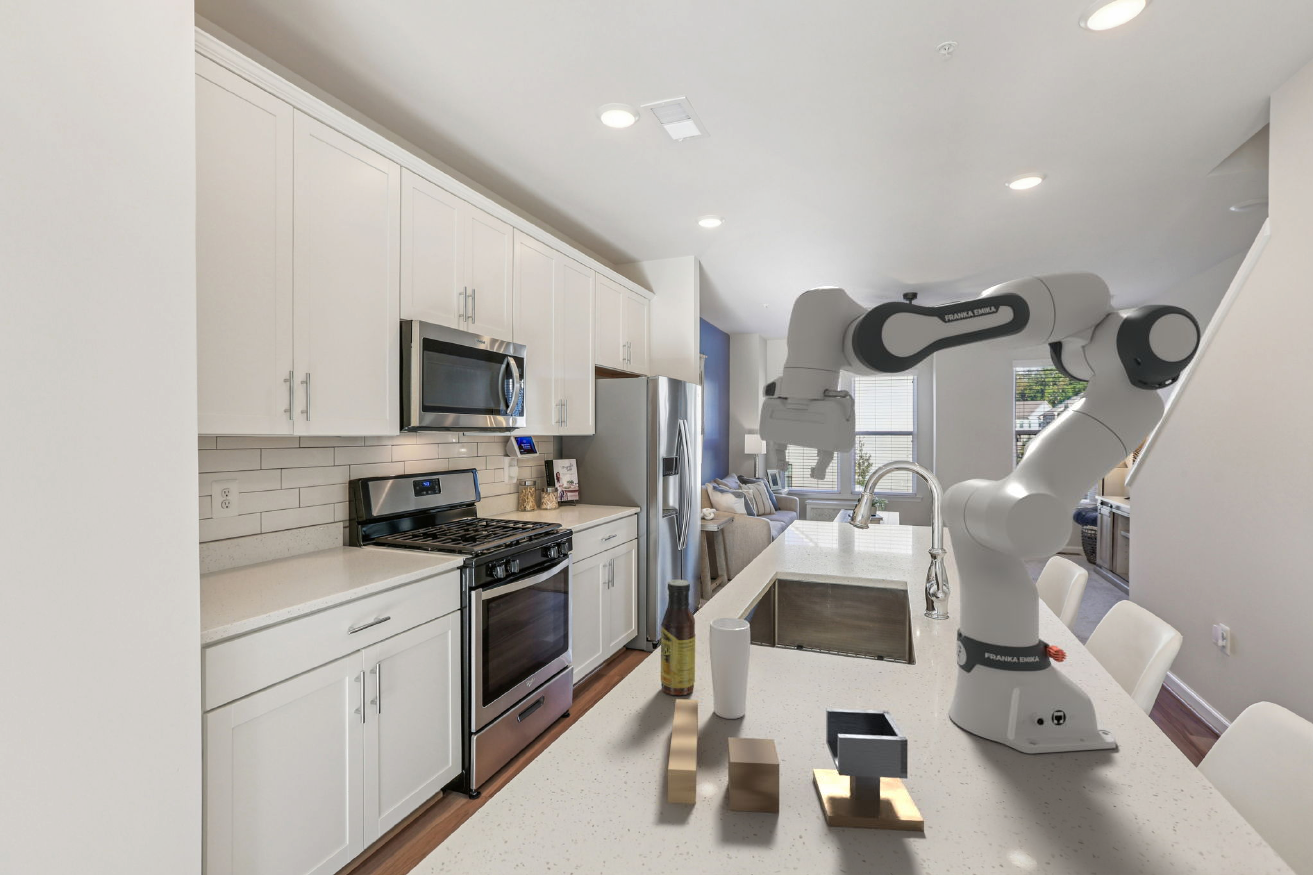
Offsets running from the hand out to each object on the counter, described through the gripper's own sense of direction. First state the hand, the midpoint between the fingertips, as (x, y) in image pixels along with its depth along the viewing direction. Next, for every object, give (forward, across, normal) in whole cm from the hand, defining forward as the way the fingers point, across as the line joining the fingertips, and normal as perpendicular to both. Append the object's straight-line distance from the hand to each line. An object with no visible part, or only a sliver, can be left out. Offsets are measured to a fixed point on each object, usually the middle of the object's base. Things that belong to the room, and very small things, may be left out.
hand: (798, 474), depth 96 cm
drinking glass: (+41, +4, +5) cm, 42 cm away
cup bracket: (+38, -24, +2) cm, 45 cm away
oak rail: (+42, -6, +18) cm, 46 cm away
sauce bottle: (+42, +15, +9) cm, 46 cm away
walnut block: (+40, -17, +14) cm, 46 cm away
